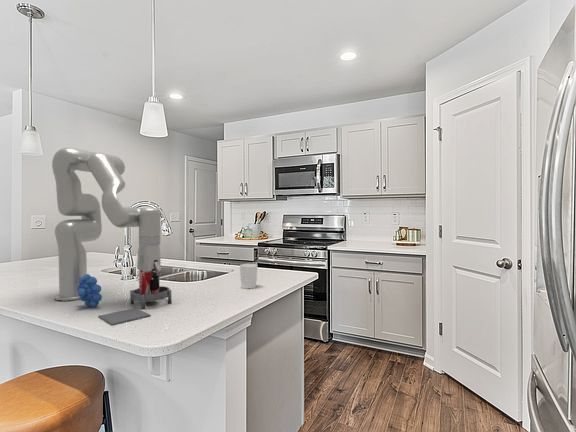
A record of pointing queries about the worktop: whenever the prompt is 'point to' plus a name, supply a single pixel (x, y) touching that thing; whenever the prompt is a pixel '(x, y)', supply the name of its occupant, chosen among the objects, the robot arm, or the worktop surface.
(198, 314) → the worktop surface
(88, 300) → the grapes
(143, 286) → the soda can
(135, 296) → the ring stand
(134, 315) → the mat
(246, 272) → the white cup
